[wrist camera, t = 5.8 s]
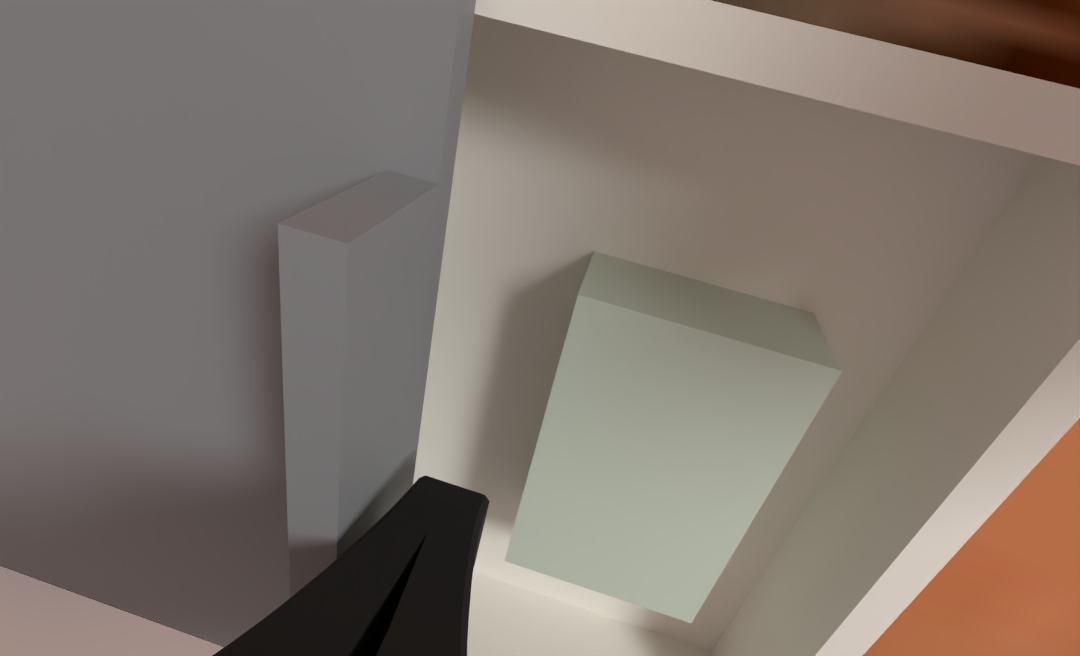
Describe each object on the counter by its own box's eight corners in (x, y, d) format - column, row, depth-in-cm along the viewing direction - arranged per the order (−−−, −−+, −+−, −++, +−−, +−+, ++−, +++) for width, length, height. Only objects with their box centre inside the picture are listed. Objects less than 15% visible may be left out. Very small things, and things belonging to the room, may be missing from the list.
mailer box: (725, 655, 19) (735, 794, 16) (344, 526, 20) (276, 629, 17) (1100, 106, 10) (1325, 148, 6) (371, -70, 11) (234, -114, 8)
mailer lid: (387, 681, 16) (327, 815, 13) (-45, 526, 17) (-182, 620, 15) (483, -56, 7) (359, -110, 4) (-435, -276, 8) (-992, -428, 6)
